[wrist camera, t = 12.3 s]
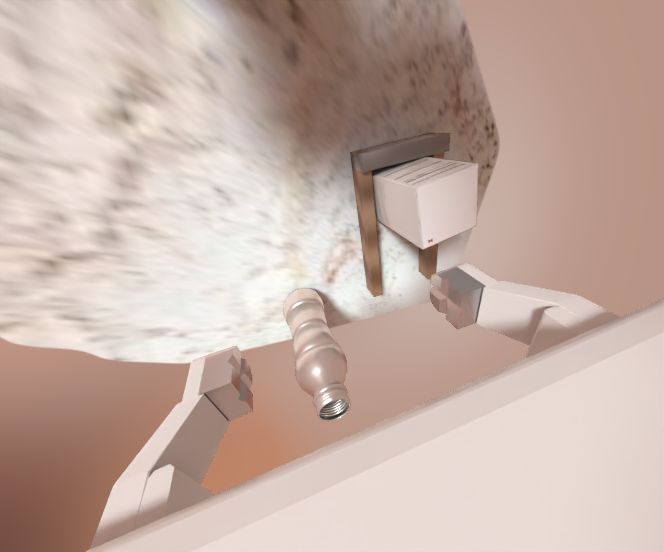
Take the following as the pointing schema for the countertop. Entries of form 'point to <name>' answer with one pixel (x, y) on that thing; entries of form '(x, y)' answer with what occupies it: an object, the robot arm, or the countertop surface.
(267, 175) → the countertop surface
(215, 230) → the countertop surface
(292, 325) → the plastic bottle
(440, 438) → the robot arm
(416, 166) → the supplement box
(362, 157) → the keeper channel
